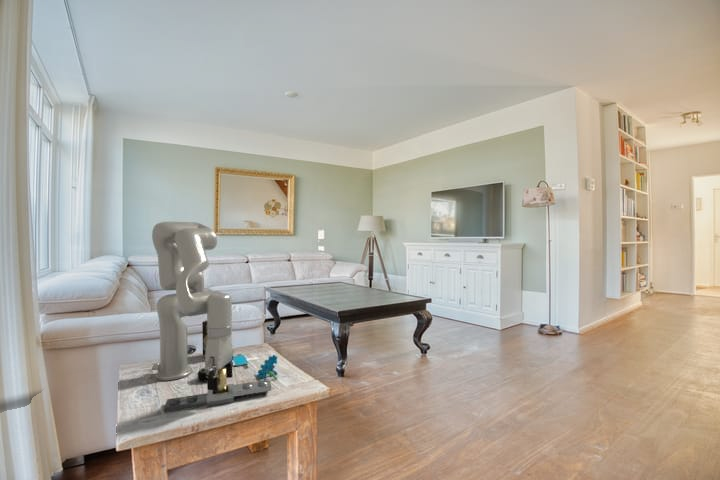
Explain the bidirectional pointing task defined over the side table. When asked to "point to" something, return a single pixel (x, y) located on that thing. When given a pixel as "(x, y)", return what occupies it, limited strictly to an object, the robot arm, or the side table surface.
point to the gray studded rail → (218, 396)
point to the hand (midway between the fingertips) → (220, 383)
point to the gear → (268, 368)
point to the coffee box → (204, 336)
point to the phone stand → (242, 360)
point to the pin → (221, 381)
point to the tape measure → (203, 375)
